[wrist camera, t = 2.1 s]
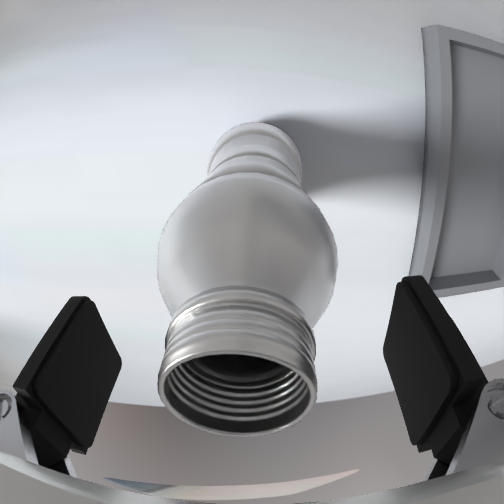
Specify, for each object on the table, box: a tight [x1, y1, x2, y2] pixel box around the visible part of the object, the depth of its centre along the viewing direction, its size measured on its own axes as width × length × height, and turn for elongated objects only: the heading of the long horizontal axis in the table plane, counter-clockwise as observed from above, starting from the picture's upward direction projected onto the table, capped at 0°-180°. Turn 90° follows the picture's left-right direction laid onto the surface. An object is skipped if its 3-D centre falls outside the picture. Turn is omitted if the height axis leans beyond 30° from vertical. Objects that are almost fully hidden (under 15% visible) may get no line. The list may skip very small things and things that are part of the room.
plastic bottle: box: [157, 122, 338, 437], centre depth 15 cm, size 6×7×20 cm
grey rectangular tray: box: [409, 25, 504, 298], centre depth 21 cm, size 24×12×3 cm, turn 6°
